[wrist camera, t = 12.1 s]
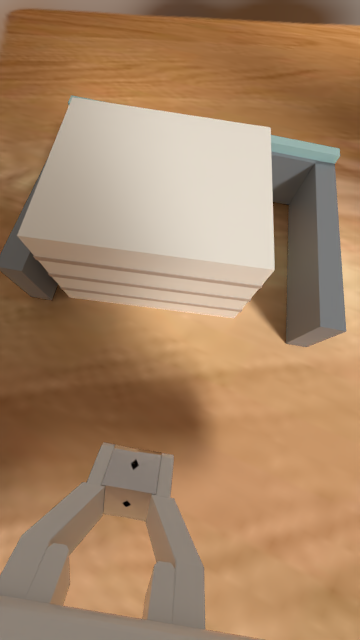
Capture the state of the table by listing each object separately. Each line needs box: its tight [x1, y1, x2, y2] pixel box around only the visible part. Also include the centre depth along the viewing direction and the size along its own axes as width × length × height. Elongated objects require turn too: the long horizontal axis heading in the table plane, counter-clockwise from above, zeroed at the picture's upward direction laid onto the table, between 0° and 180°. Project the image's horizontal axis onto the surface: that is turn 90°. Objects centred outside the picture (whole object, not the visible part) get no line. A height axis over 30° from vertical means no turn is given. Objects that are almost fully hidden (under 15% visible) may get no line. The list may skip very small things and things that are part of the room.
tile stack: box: [17, 97, 275, 318], centre depth 16 cm, size 12×10×7 cm
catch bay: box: [0, 95, 346, 347], centre depth 18 cm, size 20×14×5 cm
